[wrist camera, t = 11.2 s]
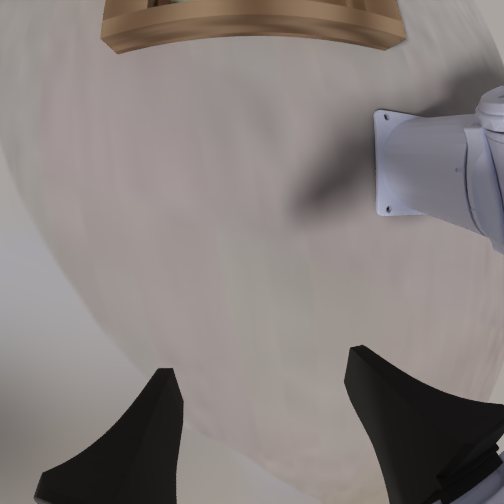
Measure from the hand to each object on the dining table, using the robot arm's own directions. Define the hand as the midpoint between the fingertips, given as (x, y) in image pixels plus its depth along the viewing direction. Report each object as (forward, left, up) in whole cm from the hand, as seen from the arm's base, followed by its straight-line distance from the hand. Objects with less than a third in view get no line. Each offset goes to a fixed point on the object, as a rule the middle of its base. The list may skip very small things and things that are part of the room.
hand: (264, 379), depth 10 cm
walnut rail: (-2, -23, -10) cm, 25 cm away
